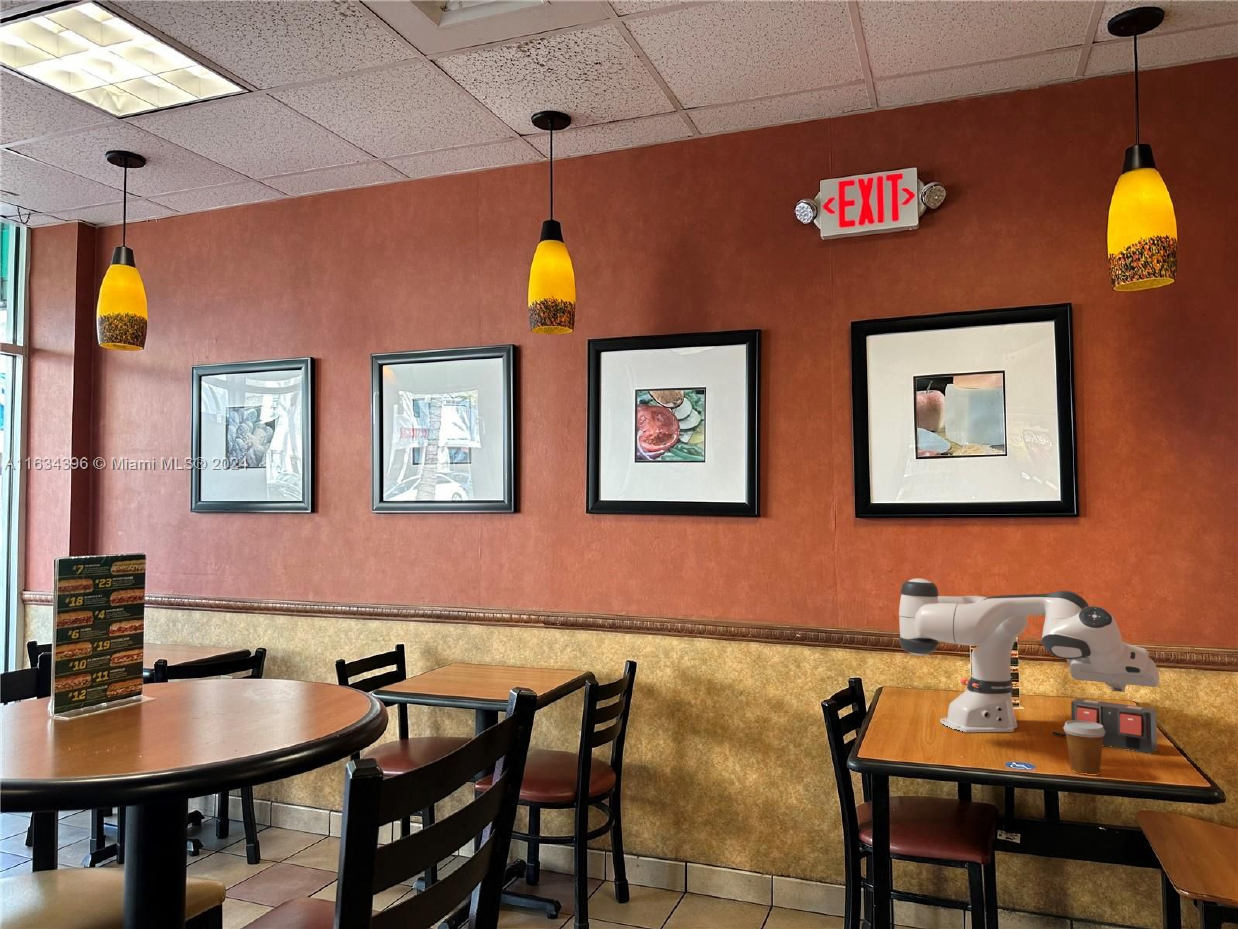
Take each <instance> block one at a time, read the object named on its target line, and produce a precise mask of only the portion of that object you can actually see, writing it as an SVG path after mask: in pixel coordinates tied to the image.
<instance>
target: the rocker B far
mask: <svg viewBox="0 0 1238 929" xmlns="http://www.w3.org/2000/svg"><path fill="white" fill-rule="evenodd" d="M1120 732H1121V733H1127V734H1134V735H1140V736H1141V735H1142V716H1135V715H1128V714H1120Z"/></svg>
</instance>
